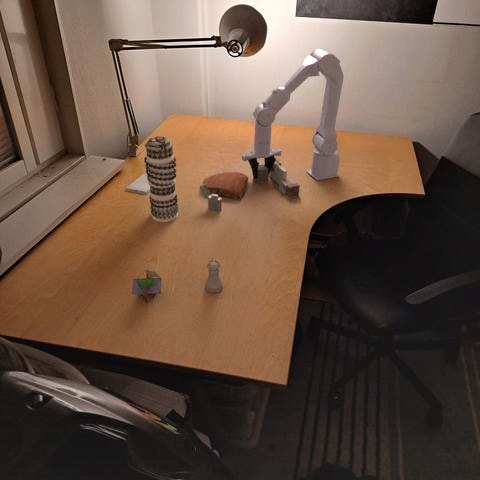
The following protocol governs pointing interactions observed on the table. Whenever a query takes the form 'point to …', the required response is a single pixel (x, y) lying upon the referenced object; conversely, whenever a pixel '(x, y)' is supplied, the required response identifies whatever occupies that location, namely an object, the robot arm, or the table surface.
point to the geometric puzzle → (147, 284)
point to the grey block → (262, 174)
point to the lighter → (212, 199)
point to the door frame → (288, 186)
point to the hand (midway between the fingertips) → (260, 176)
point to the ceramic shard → (227, 184)
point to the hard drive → (140, 185)
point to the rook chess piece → (213, 277)
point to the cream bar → (278, 172)
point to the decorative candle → (161, 179)
